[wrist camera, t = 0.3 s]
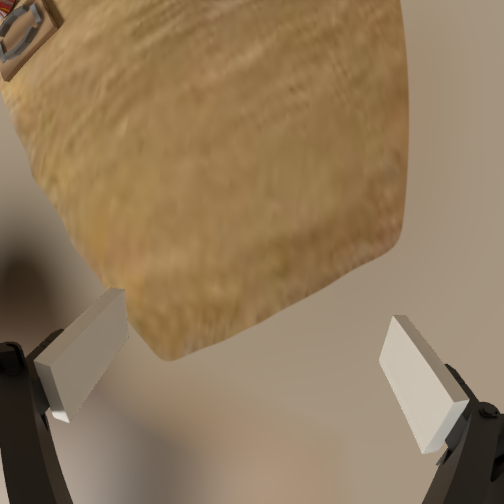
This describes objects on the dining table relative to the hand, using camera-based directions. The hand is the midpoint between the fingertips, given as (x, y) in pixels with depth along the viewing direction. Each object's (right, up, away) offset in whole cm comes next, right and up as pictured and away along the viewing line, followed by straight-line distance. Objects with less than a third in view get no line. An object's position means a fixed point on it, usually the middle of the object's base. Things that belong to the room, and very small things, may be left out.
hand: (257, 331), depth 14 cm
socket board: (-41, +42, +19) cm, 61 cm away
